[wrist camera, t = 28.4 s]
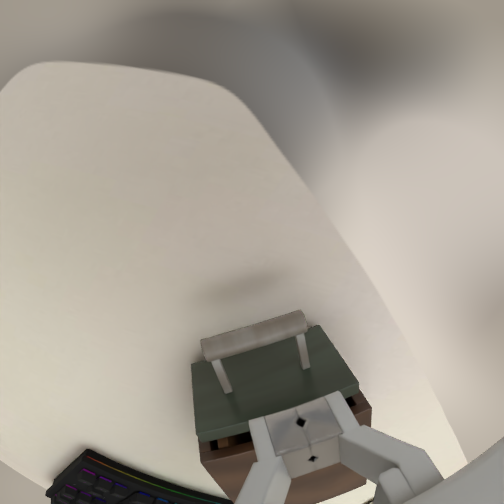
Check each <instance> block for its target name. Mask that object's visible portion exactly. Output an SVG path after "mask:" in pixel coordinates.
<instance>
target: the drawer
mask: <svg viewBox="0 0 504 504" xmlns="http://www.w3.org/2000/svg"><path fill="white" fill-rule="evenodd" d="M201 348H202V351H203V355H204V357H205V359H206V360H205V361H201V362H197V363H193V364H191V371H192V388H193V403H194V416H195V428H196V435H197V436H198V438H199V439H200V441H201V442H202V443H203V442H208V441H212V440H217V441H218V447H219V449H224V448H228V447H232V446H236V445H240V444H244V443H247V442H251V441H253V440H252V436H251V432H250V427H249V420H252V419H256V418H259V417H263V416H264V417H265V416H266V415H270V414H274V413H277V412H281V411H284V410H287V409H291V408H294V407H295V406H298V405H301V404H303V403H306V402H309V401H312V400H314V399H317V398H320V397H322V396H323V397H324V396H326V395H328V394H331V393H334V392H336V391H339V392H341V394H342V396H343V397H344V399H345V398H348V397H350V396H353V395H355V394H357V393H359V382H358V381H357V379H356V378H355V376H354V375H353V373H352V372H351V370H350V369H349V367H348V366H347V364H346V363H345V361H344V360H343V359H342V357H341V356H340V354H339V353H338V351H337V350H336V348H335V347H334V345H333V344H332V342H331V341H330V340H329V338H328V337H327V335H326V334H325V332H324V331H323V329H322V328H321V326H320V325H317V326H314V327H311V328H308V327H307V322H306V319H305V317H304V314H303V312H302V311H301V310H297V311H294V312H291V313H288V314H285V315H282V316H279V317H276V318H273V319H269V320H266V321H263V322H260V323H257V324H253V325H250V326H247V327H244V328H240V329H237V330H234V331H230V332H227V333H223V334H220V335H216V336H213V337H209V338H206V339H202V340H201Z"/></svg>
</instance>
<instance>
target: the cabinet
mask: <svg viewBox="0 0 504 504" xmlns="http://www.w3.org/2000/svg"><path fill="white" fill-rule="evenodd" d="M345 401H346V403H347V404H348V406H349V408H350V410H351V411H352V413H353V415H354V417H355V418H356V420H357V422H358V424H359V425H360V426H362V425H366V426H368V427H370V428H371V415H372V407H371V406H370V404H369V403H368V401H367V400H366V398H365V397H364V395H363V394H362V392H361V391H360V389H359V393H357V394H355V395H353V396H350V397H348V398H345ZM198 443H199V452H200V461H201V464H202V465H203V466H204V467H205V469H206V470H207V471H208V473H209V474H210V475H211V476H212V478H213V479H214V480H215V481H216V483H217V484H218V485H219V486H220V488H221V489H222V490H223V491H224V492H225V494H226V495H227V496H228V497H229V498H230V499H231V501H232V502H233V503H235V501H236V499H237V497H238V495H239V493H240V491H241V489H242V487H243V485H244V483H245V480H246V478H247V476H248V474H249V472H250V470H251V467H252V465H253V463H255V462H258V460H257V456H256V452H255V448H254V444H253V441H251V442H247V443H244V444H240V445H236V446H232V447H228V448H224V449H219V447H218V441H217V440H212V441H208V442H203V443H202V442H201V441H200V439H199V438H198ZM366 480H367V478H365V477H363V476H361V475H360V474H358V473H356V472H355V471H353V470H352V469H350V468H348V467H347V466H345V465H343V464H342V463H341V462H339V463H336V464H333V465H330V466H328V467H325V468H322V469H319V470H316V471H313V472H310V473H307V474H304V475H302V476H299V477H296V478H293V479H291V483H290V486H289V490H288V493H287V496H286V499H285V502H284V504H316V503H319V502H322V501H325V500H328V499H330V498H333V497H336V496H338V495H341V494H344V493H346V492H349V491H351V490H353V489H356V488H358V487H361V486H363V485H365V484H366Z"/></svg>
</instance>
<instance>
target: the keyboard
mask: <svg viewBox="0 0 504 504" xmlns="http://www.w3.org/2000/svg"><path fill="white" fill-rule="evenodd" d="M46 496H47V497H49V498H51V504H234V503H233V502H232V501H231V500H227V499H223V498H219V497H215V496H211V495H208V494H204V493H200V492H197V491H193V490H190V489H187V488H184V487H180V486H177V485H174V484H171V483H168V482H166V481H163V480H160V479H157V478H154V477H152V476H149V475H146V474H144V473H141V472H139V471H136V470H134V469H131V468H129V467H127V466H124V465H122V464H120V463H117V462H115V461H113V460H111V459H109V458H106V457H104V456H102V455H100V454H98V453H96V452H94V451H92V450H90V449H86V450H85V451H84V452H83V453H82V454H81V455H80V456H79V457H78V458H77V459H76V460H75V461H74V462H73V463H71V464H70V465H69V466H68V467H67V468H66V469H65V470H64V471H63V472H62V473H61V474H60V475H59V476H57V477H56V478H55V479H54V482H53V485H52V486H51V487H50V488H49V489H48V490H47V491H46Z"/></svg>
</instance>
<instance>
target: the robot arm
mask: <svg viewBox="0 0 504 504" xmlns="http://www.w3.org/2000/svg"><path fill="white" fill-rule="evenodd" d="M249 427H250V432H251V436H252V440H253V444H254V448H255V452H256V456H257V460H258V462H255V463H253V465H252V467H251V470H250V472H249V474H248V476H247V478H246V480H245V483H244V485H243V487H242V489H241V491H240V493H239V495H238V497H237V499H236V501H235V503H234V504H284V502H285V499H286V496H287V493H288V490H289V486H290V483H291V479H293V478H296V477H299V476H302V475H304V474H307V473H310V472H313V471H316V470H319V469H322V468H325V467H328V466H330V465H333V464H336V463H339V462H341V463H342V464H343V465H345V466H347V467H348V468H350V469H352V470H353V471H355V472H356V473H358V474H360V475H361V476H363V477H365V478H367V479H368V480H370V481H372V482H373V483H375V484H377V487H376V491H375V496H374V500H373V504H504V437H503V438H502V439H500V440H499V441H498V442H497V443H495V444H494V445H493V446H492V447H491V448H489V449H488V450H487V451H485V452H484V453H483V454H481V455H480V456H479V457H477V458H476V459H474V460H473V461H472V462H470V463H469V464H467V465H466V466H465V467H463V468H462V469H460V470H459V471H457V472H456V473H454V474H453V475H451V476H450V477H448V478H446V479H445V480H444V478H443V477H442V475H441V474H440V472H439V471H438V469H437V468H436V466H435V465H434V463H433V462H432V460H431V459H430V457H429V456H428V455H427V453H426V452H425V450H423V449H421V448H418V447H416V446H413V445H410V444H408V443H406V442H403V441H401V440H398V439H396V438H393V437H391V436H389V435H386V434H384V433H382V432H380V431H377V430H375V429H373V428H370V427H368V426H366V425H362V426H360V425H359V424H358V422H357V420H356V418H355V417H354V415H353V413H352V411H351V410H350V408H349V406H348V404H347V403H346V401H345V399H344V397H343V396H342V394H341V392H339V391H336V392H334V393H331V394H328V395H326V396H324V397H323V396H322V397H320V398H317V399H314V400H312V401H309V402H306V403H303V404H301V405H298V406H295V407H294V408H291V409H287V410H284V411H281V412H277V413H274V414H270V415H266V416H265V417H264V416H263V417H259V418H256V419H252V420H249Z"/></svg>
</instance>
